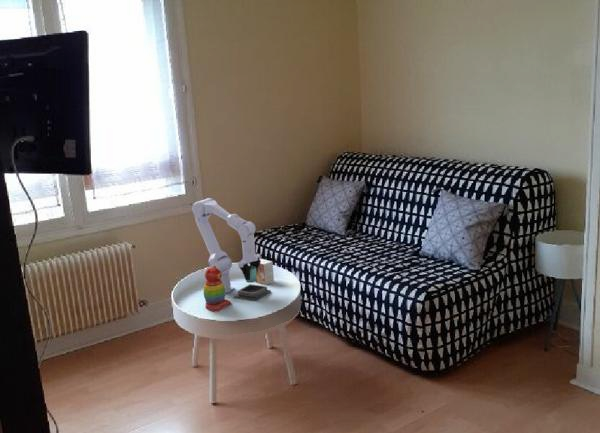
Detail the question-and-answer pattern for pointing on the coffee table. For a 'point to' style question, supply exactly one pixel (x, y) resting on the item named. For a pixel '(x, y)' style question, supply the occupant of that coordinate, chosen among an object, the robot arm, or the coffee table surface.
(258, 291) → the socket
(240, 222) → the robot arm
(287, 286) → the coffee table surface
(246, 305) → the coffee table surface
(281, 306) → the coffee table surface
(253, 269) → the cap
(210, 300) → the stacking bear
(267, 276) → the small box
